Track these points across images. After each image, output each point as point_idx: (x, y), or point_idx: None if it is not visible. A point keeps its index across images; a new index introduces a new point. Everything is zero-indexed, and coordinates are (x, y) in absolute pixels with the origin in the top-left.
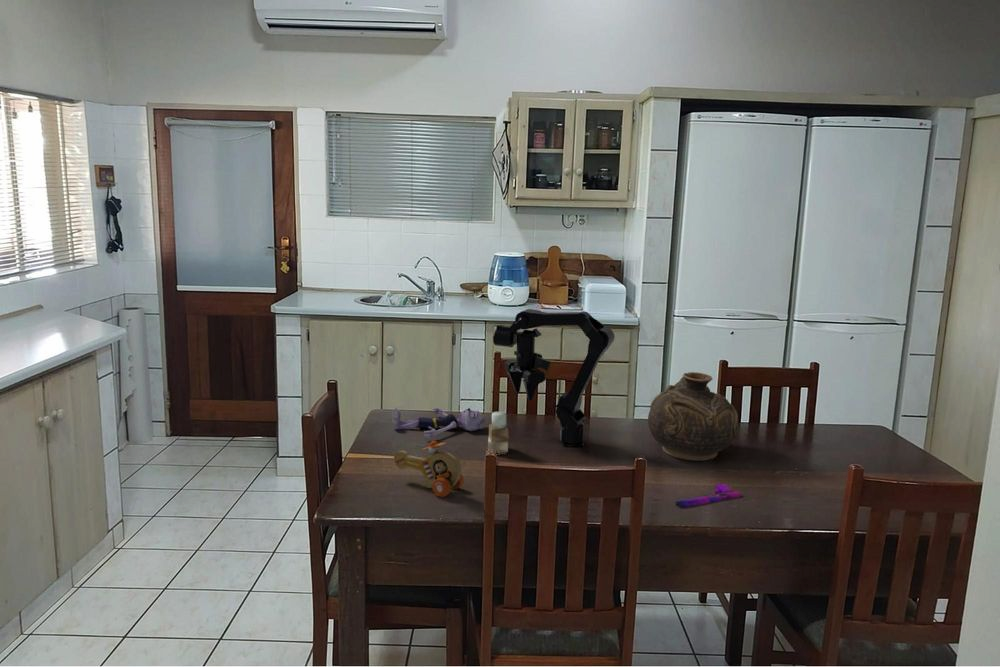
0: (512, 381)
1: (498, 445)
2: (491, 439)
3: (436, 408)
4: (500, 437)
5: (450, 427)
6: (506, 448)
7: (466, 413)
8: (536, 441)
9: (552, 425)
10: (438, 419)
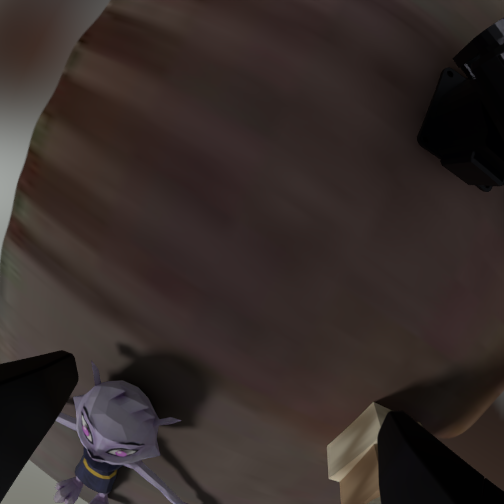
0: (14, 478)
1: None
2: None
3: None
4: None
5: (151, 474)
6: None
7: (117, 464)
8: (379, 261)
9: (201, 55)
10: (98, 470)
